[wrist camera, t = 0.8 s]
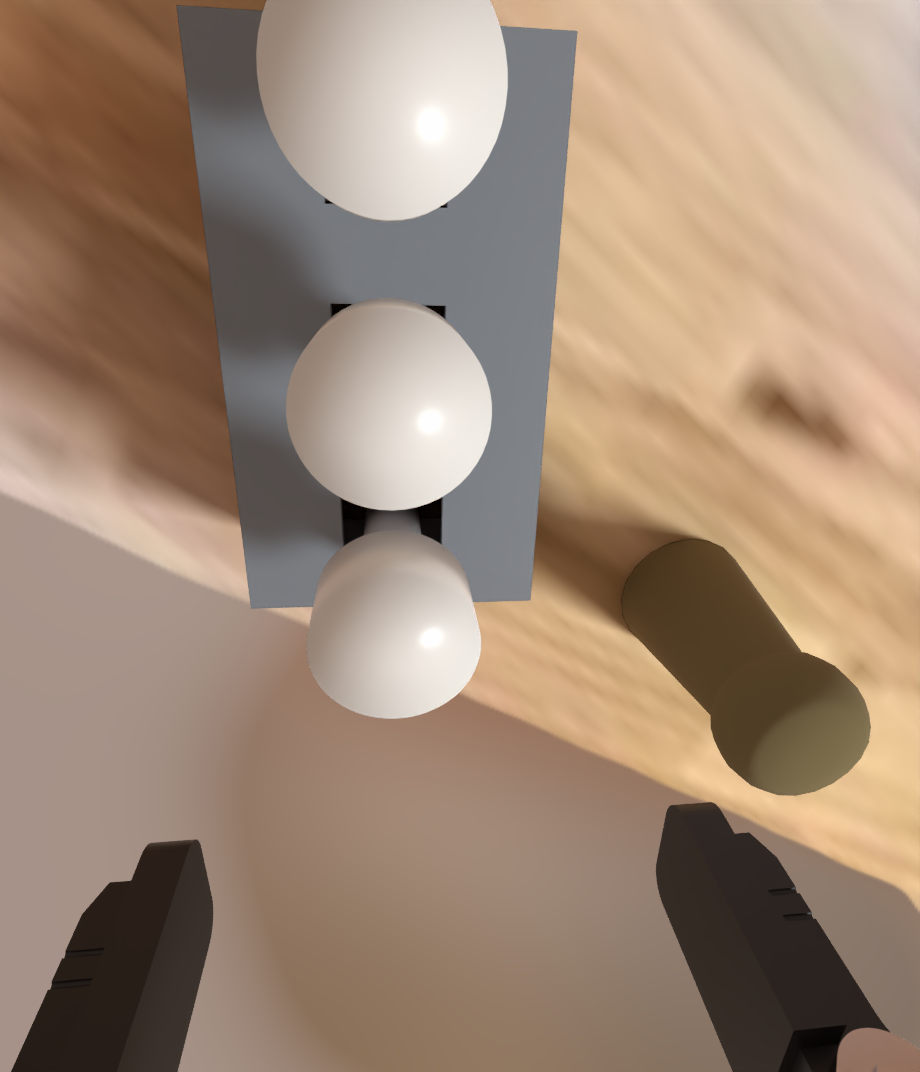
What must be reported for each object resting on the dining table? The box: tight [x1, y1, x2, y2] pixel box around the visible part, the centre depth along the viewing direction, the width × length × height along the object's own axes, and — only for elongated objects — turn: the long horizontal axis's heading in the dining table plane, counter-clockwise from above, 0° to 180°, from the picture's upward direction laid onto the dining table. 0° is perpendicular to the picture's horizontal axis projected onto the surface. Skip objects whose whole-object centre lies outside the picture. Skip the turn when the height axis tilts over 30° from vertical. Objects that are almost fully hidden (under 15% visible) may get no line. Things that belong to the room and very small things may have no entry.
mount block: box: [177, 5, 577, 608], centre depth 23 cm, size 17×10×6 cm, turn 178°
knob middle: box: [286, 298, 492, 511], centre depth 18 cm, size 4×4×8 cm
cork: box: [621, 539, 871, 796], centre depth 27 cm, size 6×6×11 cm
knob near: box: [256, 0, 508, 222], centre depth 15 cm, size 4×4×8 cm
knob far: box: [306, 507, 481, 718], centre depth 20 cm, size 4×4×8 cm
